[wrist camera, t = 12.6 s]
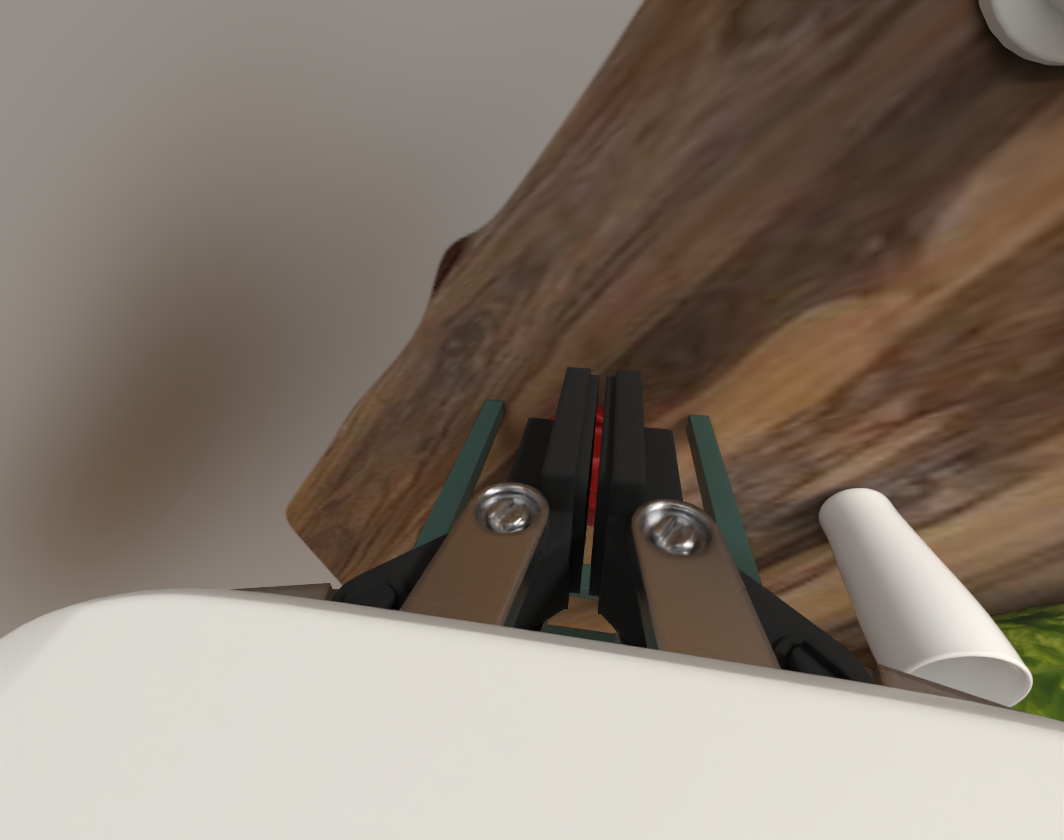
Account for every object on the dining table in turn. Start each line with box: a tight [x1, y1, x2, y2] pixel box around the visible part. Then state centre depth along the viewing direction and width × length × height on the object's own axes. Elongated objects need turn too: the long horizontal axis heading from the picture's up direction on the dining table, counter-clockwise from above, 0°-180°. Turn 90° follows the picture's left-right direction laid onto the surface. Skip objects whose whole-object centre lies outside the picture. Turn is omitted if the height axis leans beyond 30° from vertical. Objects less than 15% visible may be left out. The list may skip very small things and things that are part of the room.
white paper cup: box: [819, 488, 1033, 707], centre depth 33 cm, size 7×7×15 cm
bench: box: [413, 400, 762, 643], centre depth 34 cm, size 20×18×22 cm
